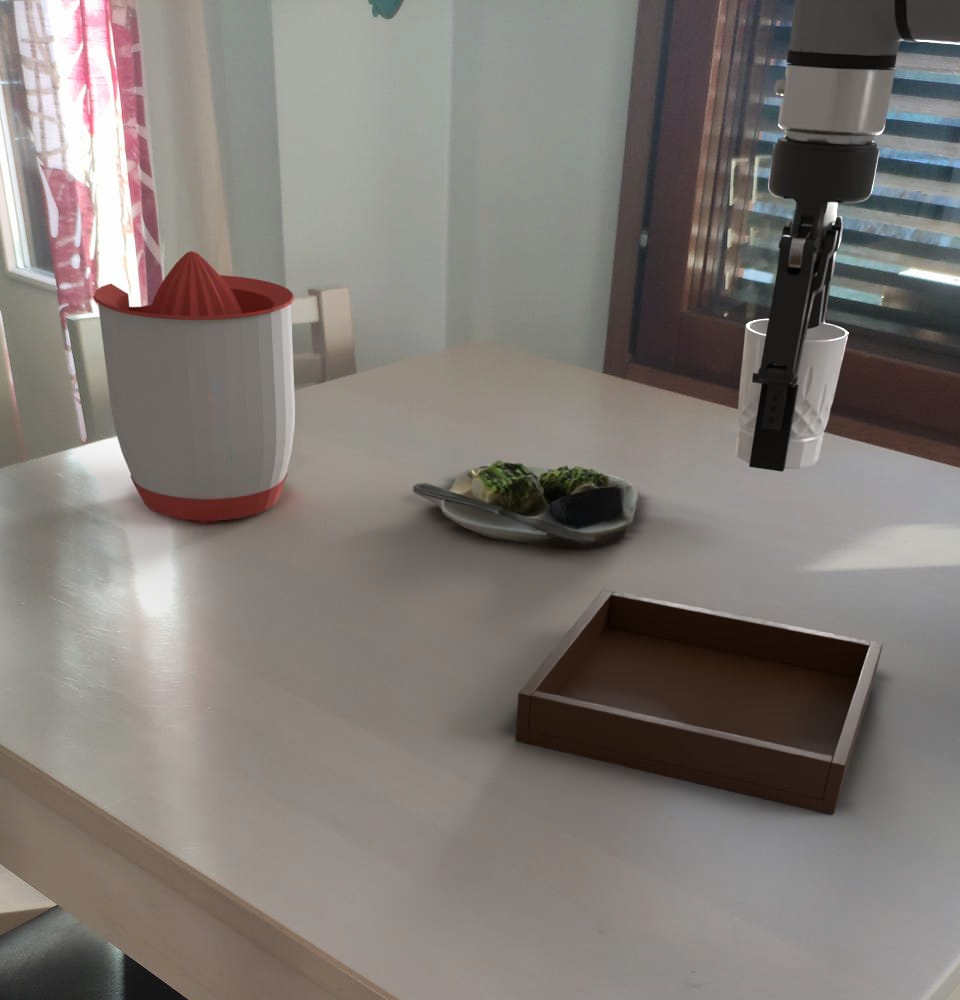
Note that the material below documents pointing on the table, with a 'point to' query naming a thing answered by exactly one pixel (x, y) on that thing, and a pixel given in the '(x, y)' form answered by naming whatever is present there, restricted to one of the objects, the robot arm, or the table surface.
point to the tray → (704, 698)
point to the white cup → (812, 396)
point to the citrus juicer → (202, 391)
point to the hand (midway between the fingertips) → (776, 453)
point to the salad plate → (539, 504)
